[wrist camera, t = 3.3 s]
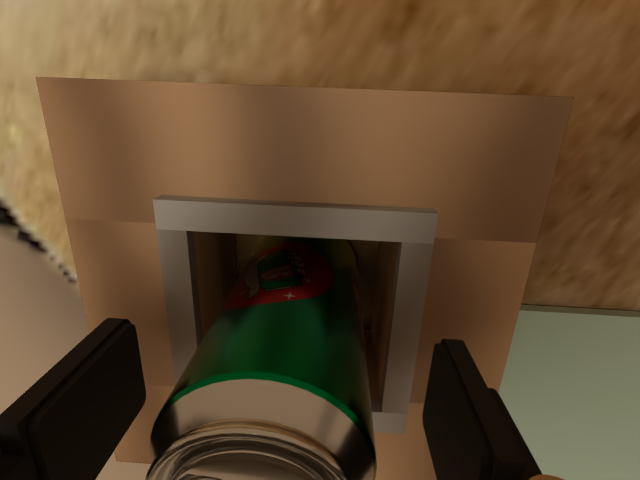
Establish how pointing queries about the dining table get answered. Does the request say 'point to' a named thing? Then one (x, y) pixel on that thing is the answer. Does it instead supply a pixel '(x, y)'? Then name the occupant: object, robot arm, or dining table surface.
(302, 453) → the soda can
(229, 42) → the dining table surface
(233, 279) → the housing
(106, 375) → the robot arm
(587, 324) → the mat
